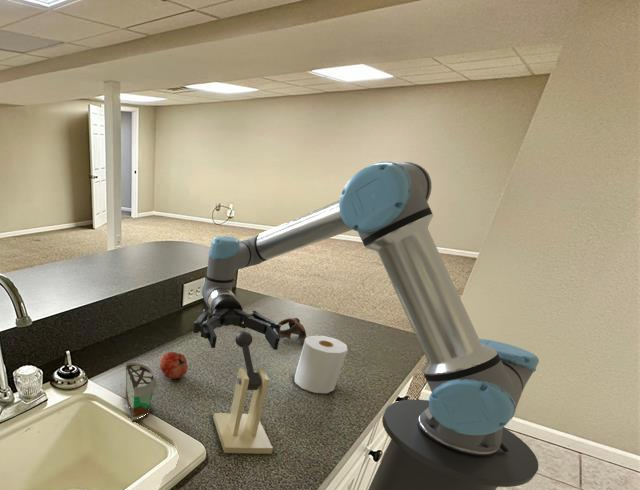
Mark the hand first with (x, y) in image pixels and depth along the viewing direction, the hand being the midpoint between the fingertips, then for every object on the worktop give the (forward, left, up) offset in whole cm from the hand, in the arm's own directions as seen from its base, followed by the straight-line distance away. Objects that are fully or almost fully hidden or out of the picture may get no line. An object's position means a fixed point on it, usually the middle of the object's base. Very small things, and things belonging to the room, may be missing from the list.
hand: (245, 343), depth 87 cm
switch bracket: (-6, +6, -19) cm, 20 cm away
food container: (+16, +14, -19) cm, 29 cm away
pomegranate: (+20, -4, -19) cm, 28 cm away
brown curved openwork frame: (+6, -51, -19) cm, 55 cm away
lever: (-2, +2, -4) cm, 4 cm away
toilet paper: (-10, -28, -19) cm, 35 cm away
